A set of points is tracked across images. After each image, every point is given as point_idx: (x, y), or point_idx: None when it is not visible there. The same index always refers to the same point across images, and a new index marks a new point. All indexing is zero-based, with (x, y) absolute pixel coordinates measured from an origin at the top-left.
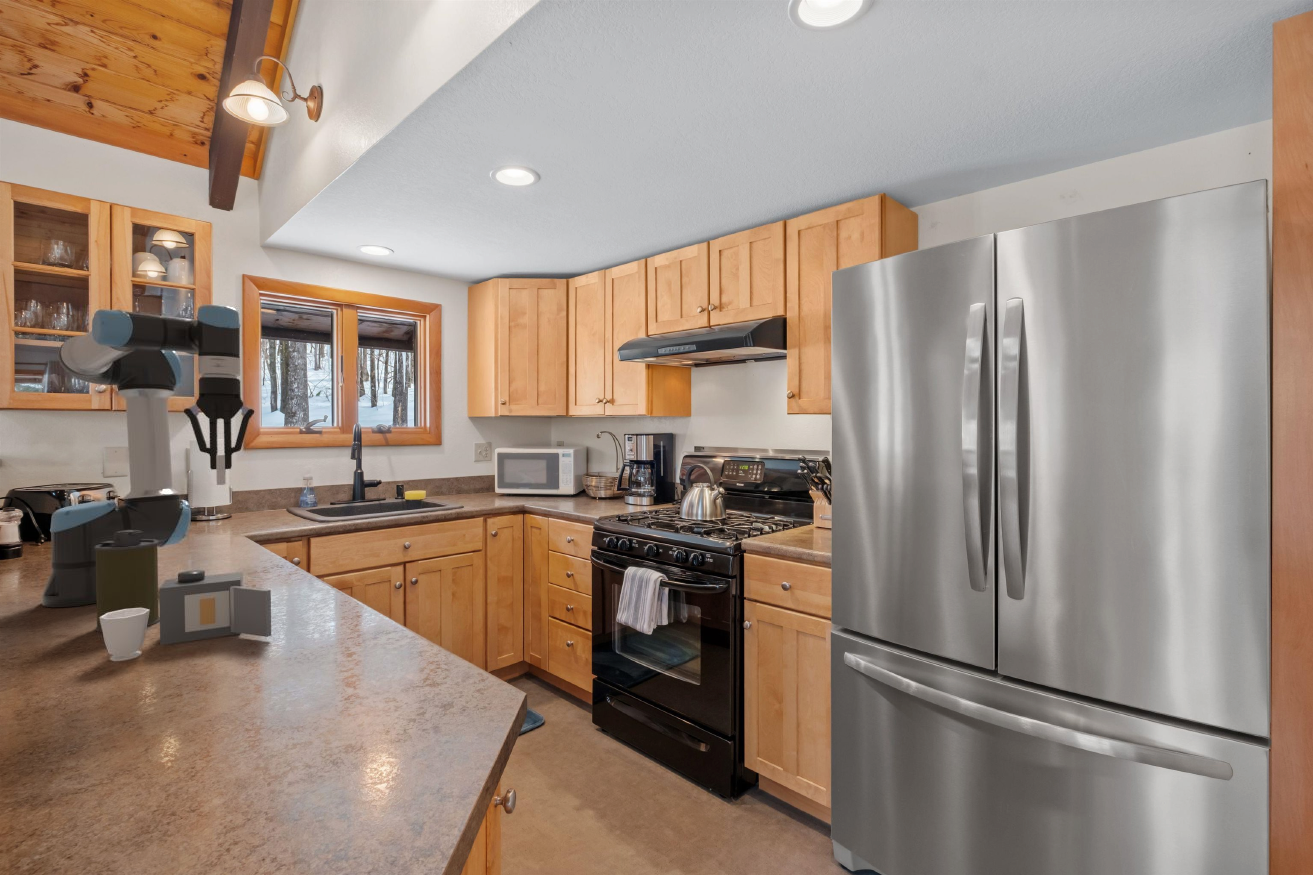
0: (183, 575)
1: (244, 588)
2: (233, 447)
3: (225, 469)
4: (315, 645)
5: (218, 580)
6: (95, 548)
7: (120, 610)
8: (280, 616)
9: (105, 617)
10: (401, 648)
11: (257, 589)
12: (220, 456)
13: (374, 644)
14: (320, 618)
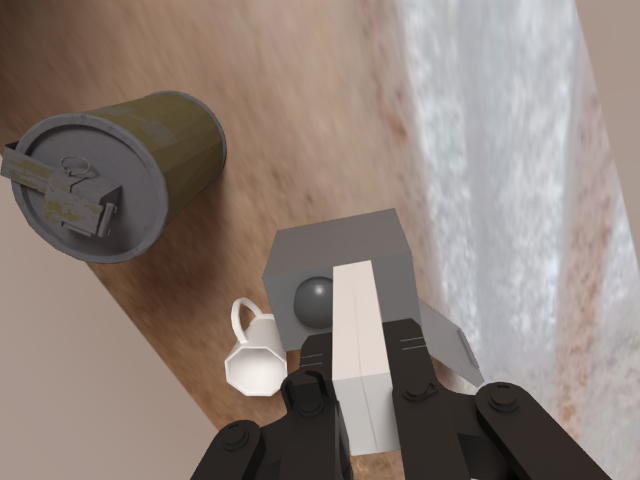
0: (311, 327)
1: (434, 356)
2: (479, 475)
3: (381, 320)
4: (523, 365)
5: None
6: (43, 238)
7: (238, 351)
8: (457, 185)
9: (230, 369)
10: (636, 413)
11: (460, 372)
12: (377, 443)
13: (604, 387)
14: (533, 226)
